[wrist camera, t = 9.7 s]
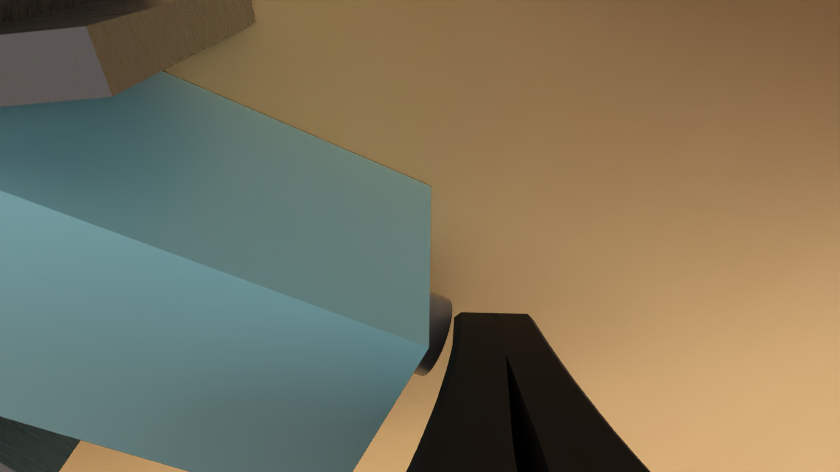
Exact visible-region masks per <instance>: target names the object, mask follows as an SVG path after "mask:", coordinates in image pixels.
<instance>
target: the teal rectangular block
mask: <svg viewBox="0 0 840 472" xmlns="http://www.w3.org/2000/svg"><path fill="white" fill-rule="evenodd" d="M430 232H431V186H429V185H427V184H425V183H422V182H420V181H418V180H415V179H413V178H411V177H408V176H406V175H404V174H401V173H399V172H397V171H394V170H392V169H390V168H387V167H385V166H383V165H380V164H378V163H376V162H373V161H371V160H369V159H366V158H364V157H362V156H359V155H357V154H355V153H352V152H350V151H348V150H345V149H343V148H341V147H338V146H336V145H334V144H331V143H329V142H327V141H324V140H322V139H320V138H317V137H315V136H313V135H310V134H308V133H306V132H303V131H301V130H299V129H296V128H294V127H292V126H290V125H287V124H285V123H283V122H280V121H278V120H276V119H273V118H271V117H269V116H266V115H264V114H262V113H259V112H257V111H255V110H252V109H250V108H248V107H245V106H243V105H241V104H238V103H236V102H234V101H231V100H229V99H227V98H224V97H222V96H220V95H217V94H215V93H213V92H210V91H208V90H206V89H203V88H201V87H199V86H196V85H194V84H192V83H189V82H187V81H185V80H182V79H180V78H178V77H175V76H173V75H171V74H168V73H166V72H164V71H161V72H159V73H157V74H155V75H153V76H151V77H149V78H147V79H145V80H143V81H142V82H140V83H138V84H136V85H134V86H132V87H130V88H128V89H126V90H124V91H122V92H120V93H118V94H117V95H115V96H113V97H103V98H92V99H81V100H70V101H59V102H48V103H37V104H26V105H15V106H4V107H0V417H4V418H7V419H11V420H14V421H17V422H21V423H24V424H28V425H31V426H35V427H38V428H41V429H45V430H48V431H52V432H55V433H59V434H62V435H65V436H69V437H72V438H76V439H79V440H83V441H86V442H89V443H93V444H96V445H100V446H103V447H107V448H110V449H113V450H117V451H120V452H124V453H127V454H131V455H134V456H138V457H141V458H144V459H148V460H151V461H155V462H158V463H162V464H165V465H168V466H172V467H175V468H179V469H182V470H186V471H189V472H353V470H354V469H355V467H356V465H357V464H358V462H359V460H360V459H361V457H362V456H363V454H364V452H365V451H366V449H367V447H368V446H369V444H370V443H371V441H372V439H373V438H374V436H375V434H376V433H377V431H378V430H379V428H380V426H381V425H382V423H383V421H384V420H385V418H386V417H387V415H388V413H389V412H390V410H391V408H392V407H393V405H394V404H395V402H396V400H397V399H398V397H399V395H400V394H401V392H402V391H403V389H404V387H405V386H406V384H407V382H408V381H409V379H410V378H411V376H412V374H413V373H416V374H418V375H421V376H424V375H426V374H427V373H428V372H429V371H430V370H431V369H432V368H433V366H434V365H435V363H436V361H437V360H438V358H439V356H440V354H441V352H442V349H443V347H444V344H445V341H446V339H447V335H448V332H449V328H450V324H451V318H452V303H451V301H450V300H449V299H447V298H445V297H442V296H439V295H437V294H434V293H432V292H430Z"/></svg>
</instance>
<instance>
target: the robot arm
mask: <svg viewBox="0 0 840 472" xmlns="http://www.w3.org/2000/svg"><path fill="white" fill-rule="evenodd" d="M406 472H650V471H649V470H648V469H647V467H646V466H645V465H644V464H643V463H642V462H641V461H640V460H639V459H638V458H637V456H636V455H635V454H634V453H633V452H632V451H631V449H630V448H629V447H628V446H627V445H626V444H625V442H624V441H623V440H622V439H621V438H620V437H619V436H618V434H617V433H616V432H615V431H614V430H613V428H612V427H611V426H610V425H609V424H608V422H607V421H606V420H605V419H604V417H603V416H602V415H601V414H600V413H599V411H598V410H597V409H596V407H595V406H594V405H593V404H592V402H591V401H590V400H589V398H588V397H587V396H586V395H585V393H584V392H583V391H582V389H581V388H580V387H579V385H578V384H577V383H576V382H575V380H574V379H573V377H572V376H571V375H570V373H569V372H568V371H567V369H566V368H565V366H564V365H563V364H562V362H561V361H560V359H559V358H558V357H557V355H556V354H555V352H554V351H553V349H552V348H551V346H550V345H549V343H548V342H547V340H546V339H545V337H544V336H543V334H542V333H541V331H540V330H539V328H538V327H537V325H536V324H535V322H534V320H533V319H532V318H531V317H530V316H529V315H528V314H507V313H469V312H461V313H460V314H458V315H457V316H456V317H454V330H453V345H452V350H451V354H450V358H449V362H448V366H447V370H446V373H445V376H444V379H443V382H442V385H441V388H440V392H439V395H438V398H437V401H436V403H435V406H434V409H433V411H432V414H431V416H430V419H429V421H428V423H427V426H426V428H425V431H424V433H423V436H422V438H421V440H420V443H419V445H418V448H417V450H416V452H415V454H414V456H413V458H412V461H411V463H410V465H409V467H408V469H407V471H406Z"/></svg>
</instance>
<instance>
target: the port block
mask: <svg viewBox="0 0 840 472" xmlns="http://www.w3.org/2000/svg"><path fill="white" fill-rule="evenodd" d="M255 22H256V21H255V16H254V12H253V8H252V3H251V0H0V107H4V106H15V105H26V104H37V103H48V102H59V101H70V100H81V99H92V98H103V97H113V96H115V95H117V94H118V93H120V92H122V91H124V90H126V89H128V88H130V87H132V86H134V85H136V84H138V83H140V82H142V81H143V80H145V79H147V78H149V77H151V76H153V75H155V74H157V73H159V72H161V71H163V70H165V69H167V68H168V67H170V66H172V65H174V64H176V63H178V62H180V61H182V60H184V59H186V58H188V57H190V56H192V55H193V54H195V53H197V52H199V51H201V50H203V49H205V48H207V47H209V46H211V45H213V44H215V43H217V42H218V41H220V40H222V39H224V38H226V37H228V36H230V35H232V34H234V33H236V32H238V31H240V30H242V29H243V28H245V27H247V26H249V25H251V24H253V23H255ZM79 442H80V440H79V439H76V438H72V437H69V436H65V435H62V434H59V433H55V432H52V431H48V430H45V429H41V428H38V427H35V426H31V425H28V424H24V423H21V422H17V421H14V420H11V419H7V418H4V417H0V472H59V471H60V469H61V468H62V466H63V465H64V463H65V462H66V461H67V459H68V458H69V456H70V455H71V453H72V452H73V450H74V449H75V448H76V446H77V445H78V443H79Z"/></svg>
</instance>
